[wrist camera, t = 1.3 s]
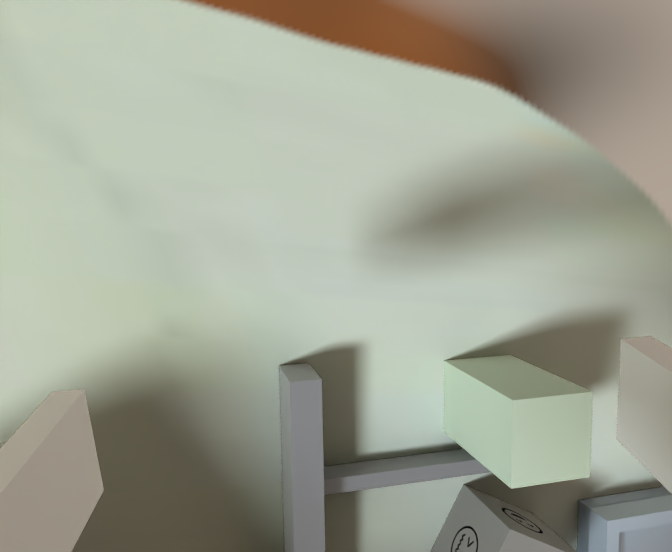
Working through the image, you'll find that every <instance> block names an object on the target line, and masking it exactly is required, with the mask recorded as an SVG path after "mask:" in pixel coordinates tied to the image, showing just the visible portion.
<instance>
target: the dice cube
mask: <svg viewBox="0 0 672 552" xmlns="http://www.w3.org/2000/svg"><path fill="white" fill-rule="evenodd" d="M431 552H577V551H576V550H574V549H573V548H572V547H571V546H570V545H569V544H567V543H566V542H565V541H564V540H563V539H562V538H560V537H559V536H558V535H557V534H556V533H555V532H553V531H552V530H551V529H550V528H549V527H548V526H546V525H545V524H544V523H543V522H542V521H541V520H539V519H538V518H537V517H536V516H535V515H534V514H532V513H530V512H528V511H526V510H523V509H521V508H519V507H516V506H514V505H511V504H509V503H507V502H504V501H502V500H500V499H497V498H495V497H492V496H490V495H488V494H485V493H483V492H481V491H478V490H476V489H474V488H471V487H469V486H466V485H463V487H462V489H461V491H460V493H459V495H458V497H457V499H456V501H455V503H454V505H453V507H452V509H451V511H450V513H449V515H448V517H447V519H446V521H445V523H444V525H443V527H442V529H441V531H440V533H439V535H438V537H437V539H436V541H435V543H434V545H433V547H432V550H431Z"/></svg>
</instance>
